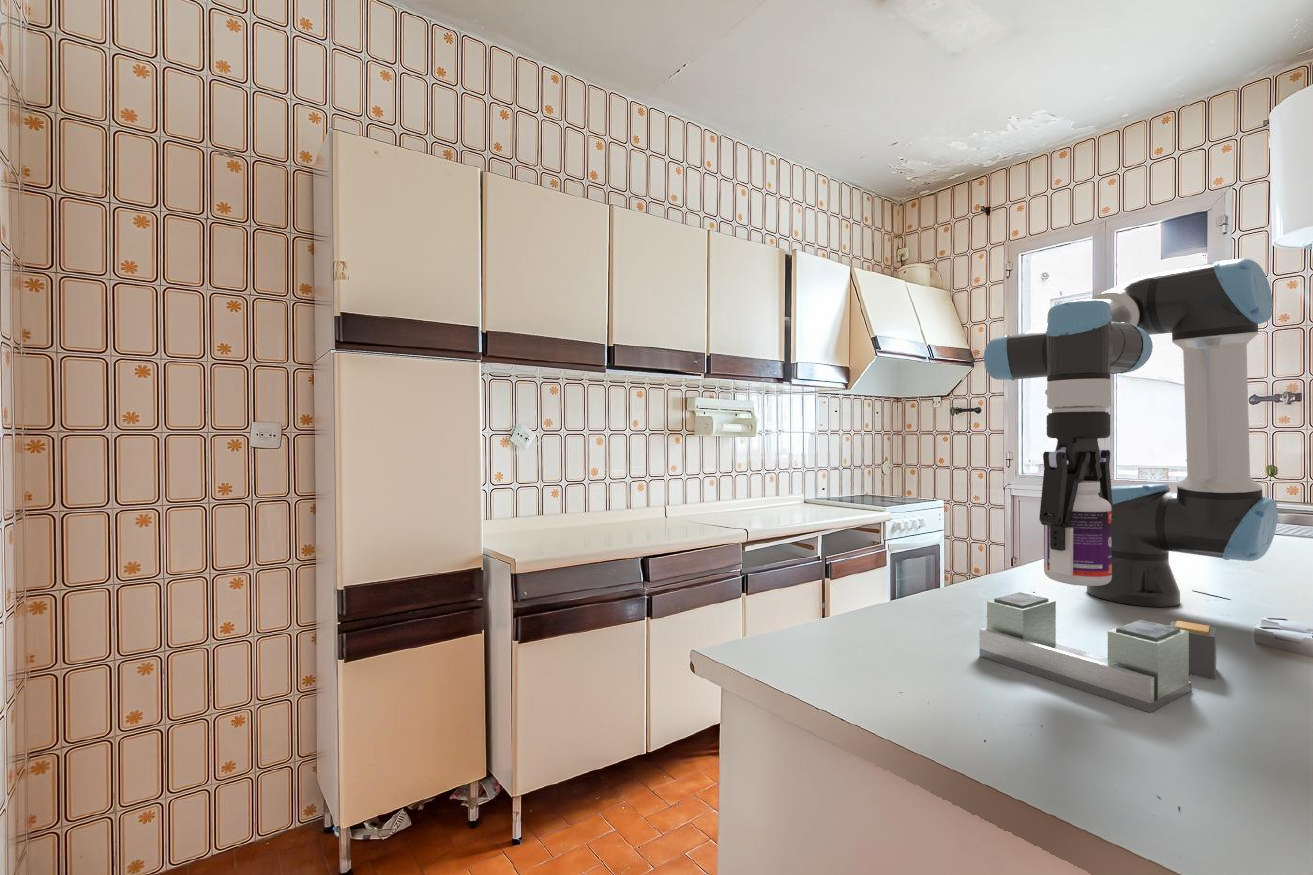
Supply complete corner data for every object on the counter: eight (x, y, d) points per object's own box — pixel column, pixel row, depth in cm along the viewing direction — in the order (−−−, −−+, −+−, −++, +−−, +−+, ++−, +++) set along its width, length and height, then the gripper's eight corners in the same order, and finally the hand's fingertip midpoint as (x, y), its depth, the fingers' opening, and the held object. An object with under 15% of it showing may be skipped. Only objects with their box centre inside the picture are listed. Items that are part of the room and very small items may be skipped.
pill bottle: (1124, 589, 83) (1124, 483, 83) (1058, 587, 84) (1058, 483, 84) (1094, 575, 91) (1094, 479, 91) (1034, 573, 92) (1034, 478, 92)
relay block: (1171, 660, 92) (1171, 618, 92) (1216, 669, 88) (1216, 625, 88) (1167, 670, 88) (1167, 626, 88) (1214, 680, 85) (1214, 634, 85)
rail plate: (1023, 641, 100) (1023, 589, 100) (1191, 690, 81) (1191, 626, 81) (979, 656, 94) (979, 600, 94) (1150, 712, 75) (1150, 643, 75)
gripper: (1086, 412, 96) (1085, 556, 96) (1009, 410, 85) (1009, 573, 86) (1143, 410, 89) (1142, 565, 89) (1067, 409, 79) (1067, 584, 79)
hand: (1077, 569), depth 88 cm, fingers closed on pill bottle, 8 cm apart
